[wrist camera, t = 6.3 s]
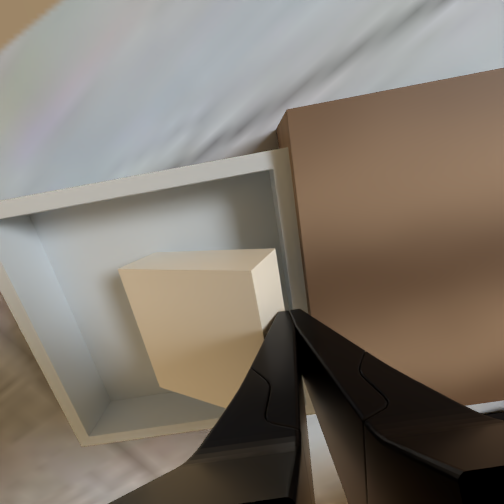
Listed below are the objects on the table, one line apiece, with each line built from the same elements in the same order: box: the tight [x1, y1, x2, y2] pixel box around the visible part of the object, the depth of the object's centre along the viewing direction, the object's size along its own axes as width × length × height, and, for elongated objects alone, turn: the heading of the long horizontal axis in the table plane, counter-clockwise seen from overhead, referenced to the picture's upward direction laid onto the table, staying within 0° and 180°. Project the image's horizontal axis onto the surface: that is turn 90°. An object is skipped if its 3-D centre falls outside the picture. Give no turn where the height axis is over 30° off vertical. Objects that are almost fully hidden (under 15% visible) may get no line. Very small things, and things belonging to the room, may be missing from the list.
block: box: [118, 248, 285, 408], centre depth 10 cm, size 6×6×2 cm
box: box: [0, 147, 316, 447], centre depth 11 cm, size 12×12×2 cm
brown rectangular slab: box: [276, 68, 504, 406], centre depth 11 cm, size 13×9×3 cm
